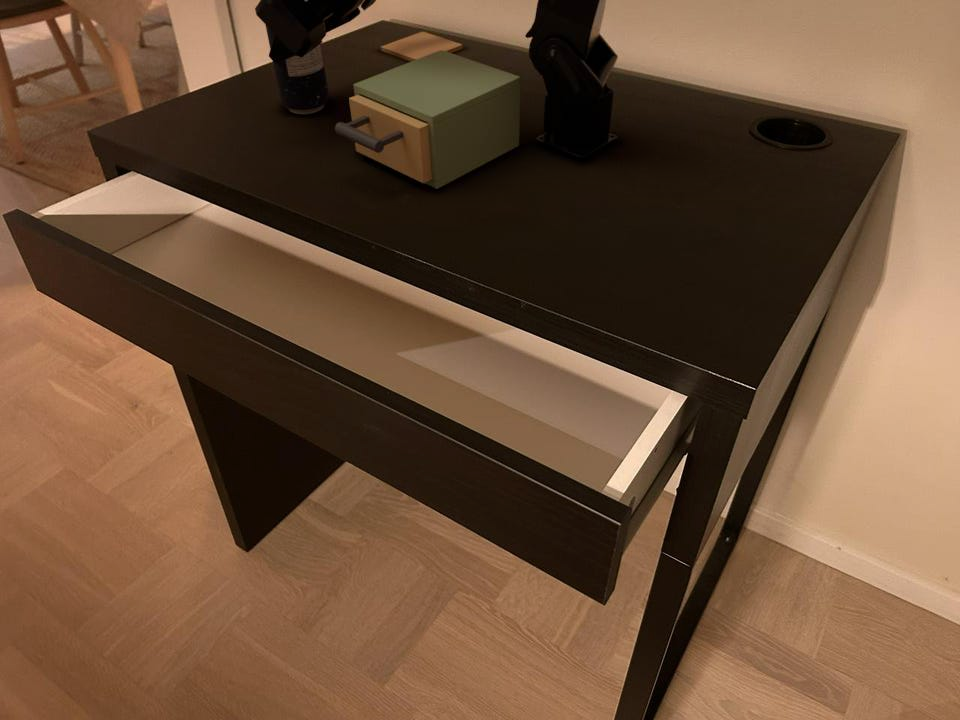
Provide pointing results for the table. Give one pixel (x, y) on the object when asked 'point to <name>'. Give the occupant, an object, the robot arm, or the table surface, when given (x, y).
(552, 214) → the table surface
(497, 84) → the cabinet
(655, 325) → the table surface
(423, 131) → the drawer
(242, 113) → the table surface
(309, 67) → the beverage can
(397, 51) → the coaster
